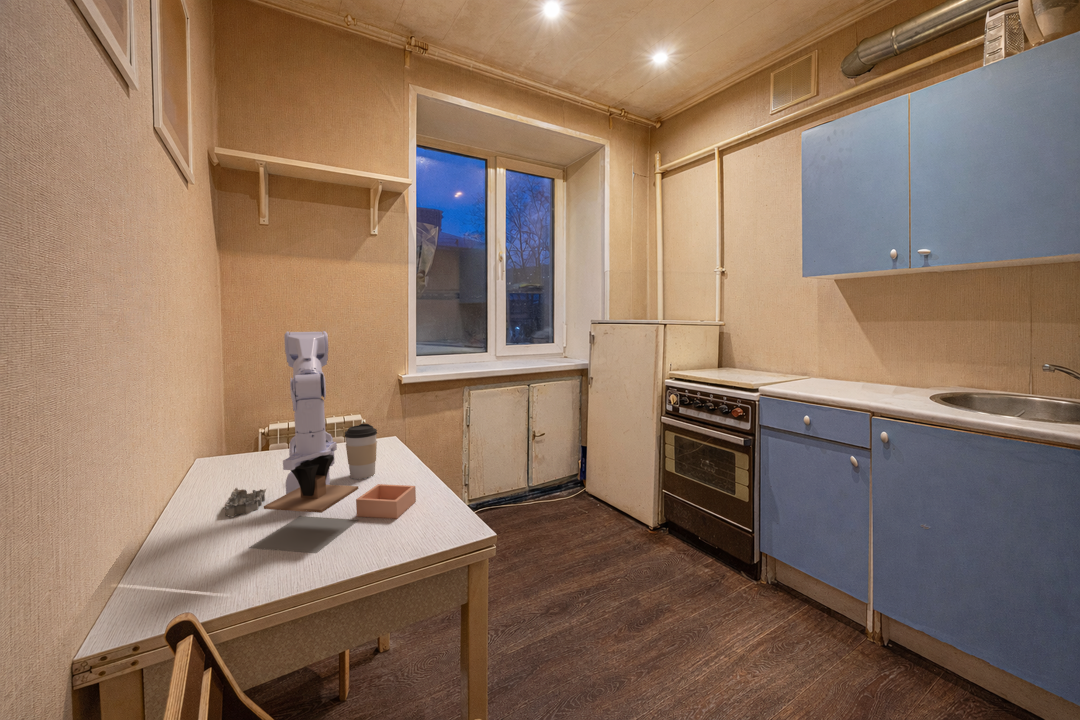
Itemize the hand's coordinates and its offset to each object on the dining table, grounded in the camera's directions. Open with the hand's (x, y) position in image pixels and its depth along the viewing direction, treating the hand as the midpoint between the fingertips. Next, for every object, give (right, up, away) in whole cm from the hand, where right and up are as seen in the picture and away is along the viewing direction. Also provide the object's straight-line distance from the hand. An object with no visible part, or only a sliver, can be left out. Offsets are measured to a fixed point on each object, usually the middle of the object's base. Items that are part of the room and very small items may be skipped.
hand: (313, 492), depth 95 cm
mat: (-1, -9, 0) cm, 9 cm away
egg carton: (-24, -9, +15) cm, 29 cm away
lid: (0, -1, 0) cm, 1 cm away
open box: (+12, -8, +12) cm, 18 cm away
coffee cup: (-4, -6, +37) cm, 38 cm away
